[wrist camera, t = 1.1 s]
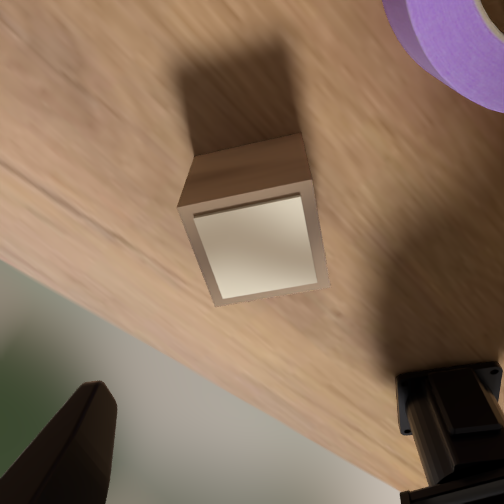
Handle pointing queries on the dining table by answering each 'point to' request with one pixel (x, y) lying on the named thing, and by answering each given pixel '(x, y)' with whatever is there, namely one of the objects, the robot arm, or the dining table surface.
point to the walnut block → (255, 221)
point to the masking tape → (453, 45)
